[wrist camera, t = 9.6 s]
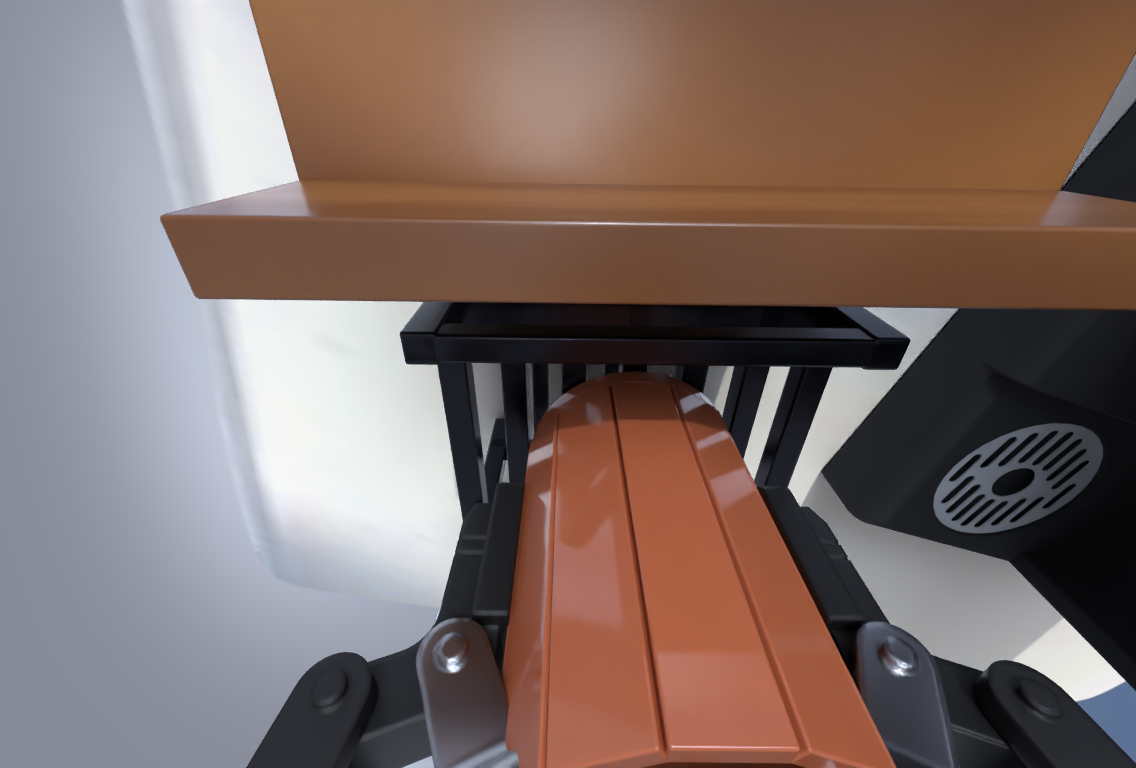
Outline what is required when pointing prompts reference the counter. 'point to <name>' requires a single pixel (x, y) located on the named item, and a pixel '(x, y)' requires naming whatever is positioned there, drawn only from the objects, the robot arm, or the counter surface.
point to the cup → (664, 601)
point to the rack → (637, 367)
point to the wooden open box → (681, 155)
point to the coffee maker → (1022, 443)
